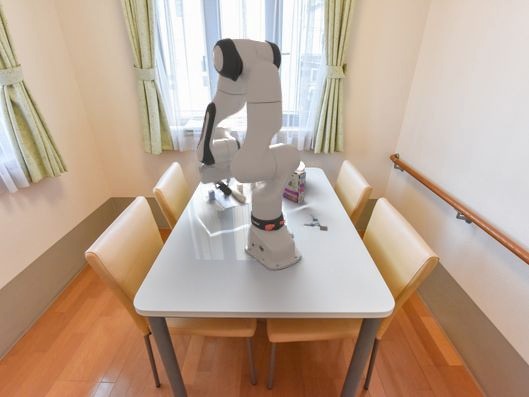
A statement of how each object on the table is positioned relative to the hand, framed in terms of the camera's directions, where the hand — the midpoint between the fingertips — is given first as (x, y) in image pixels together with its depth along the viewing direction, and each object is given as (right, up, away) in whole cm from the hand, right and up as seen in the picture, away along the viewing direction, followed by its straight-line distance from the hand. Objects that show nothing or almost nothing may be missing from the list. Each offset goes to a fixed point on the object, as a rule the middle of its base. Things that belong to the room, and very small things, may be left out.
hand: (222, 187), depth 130 cm
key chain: (+42, -17, -13) cm, 48 cm away
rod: (+7, -5, +7) cm, 11 cm away
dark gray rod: (0, -1, +1) cm, 1 cm away
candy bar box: (+36, -6, +7) cm, 37 cm away
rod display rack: (+7, -5, +8) cm, 12 cm away
